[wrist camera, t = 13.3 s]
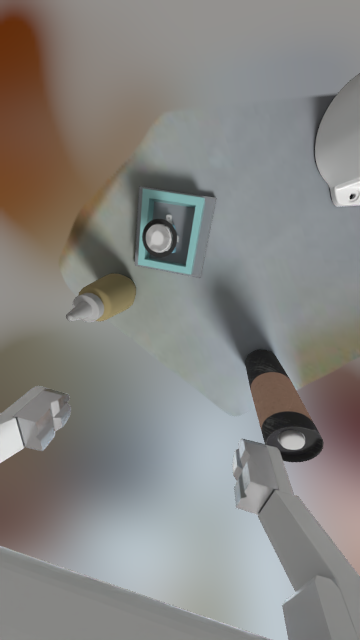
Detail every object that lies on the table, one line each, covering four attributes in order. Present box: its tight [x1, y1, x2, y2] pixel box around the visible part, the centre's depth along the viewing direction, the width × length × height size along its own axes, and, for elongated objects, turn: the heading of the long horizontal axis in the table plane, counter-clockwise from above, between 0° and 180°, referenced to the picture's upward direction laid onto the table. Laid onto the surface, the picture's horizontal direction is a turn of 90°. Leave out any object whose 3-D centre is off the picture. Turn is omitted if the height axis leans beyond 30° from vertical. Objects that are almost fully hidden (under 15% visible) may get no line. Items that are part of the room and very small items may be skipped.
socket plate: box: [135, 186, 216, 278], centre depth 35 cm, size 14×14×4 cm
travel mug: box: [245, 350, 323, 462], centre depth 36 cm, size 8×8×20 cm
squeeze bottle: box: [66, 273, 136, 322], centre depth 35 cm, size 8×8×18 cm
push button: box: [142, 215, 179, 257], centre depth 32 cm, size 7×5×10 cm
